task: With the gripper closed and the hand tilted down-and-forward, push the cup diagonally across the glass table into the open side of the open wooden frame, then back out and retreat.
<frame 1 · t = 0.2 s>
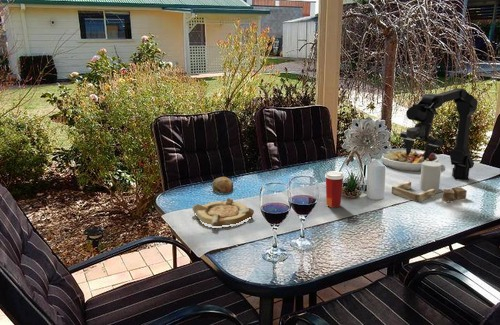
hand: (415, 157, 188), 16 cm above the table, tool pointing down, fingers open, 9 cm apart
bread roll: (223, 189, 200), on the table
ashtray: (223, 217, 169), on the table
walnut block A: (458, 198, 183), on the table
bowl: (408, 164, 233), on the table
walnut block B: (447, 199, 181), on the table
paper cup: (333, 205, 178), on the table
cup: (429, 189, 195), on the table
open wooden frame: (413, 194, 188), on the table
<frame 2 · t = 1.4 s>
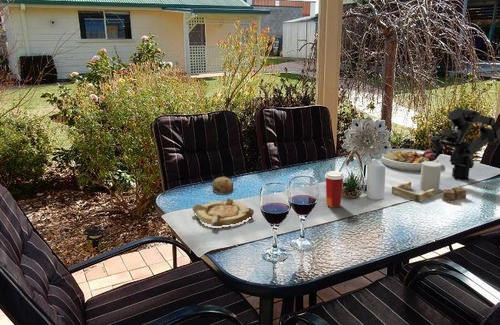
hand: (442, 159, 196), 12 cm above the table, tool tilted 45°, fingers open, 7 cm apart
nothing on the table moved.
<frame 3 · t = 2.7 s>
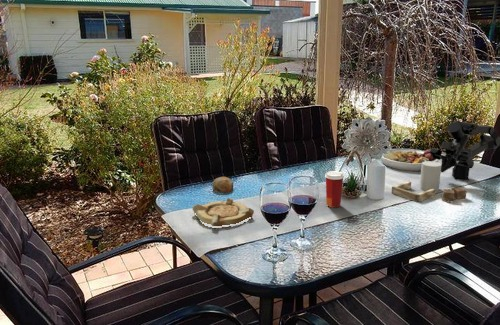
hand: (441, 171, 197), 7 cm above the table, tool tilted 45°, fingers closed
nothing on the table moved.
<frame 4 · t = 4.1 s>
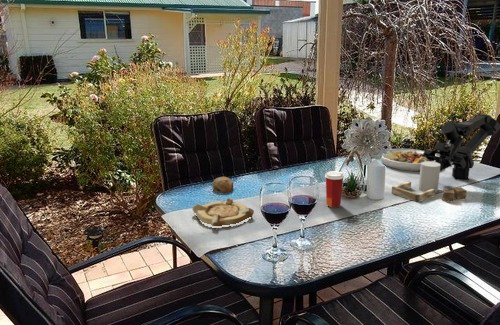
hand: (435, 173, 194), 7 cm above the table, tool tilted 45°, fingers closed, pressing on cup
cup: (428, 189, 194), on the table, touching gripper
everything else where it was.
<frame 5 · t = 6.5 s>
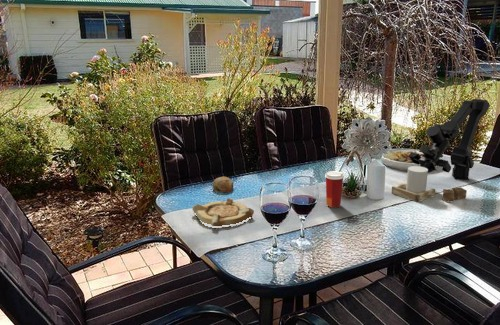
hand: (419, 176, 189), 7 cm above the table, tool tilted 45°, fingers closed
cup: (415, 195, 188), resting in open wooden frame, touching gripper
everything else where it was.
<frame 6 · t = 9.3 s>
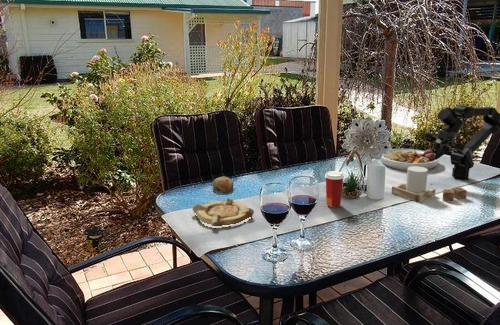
hand: (435, 159, 197), 12 cm above the table, tool tilted 35°, fingers closed
cup: (415, 195, 188), resting in open wooden frame
everything else where it was.
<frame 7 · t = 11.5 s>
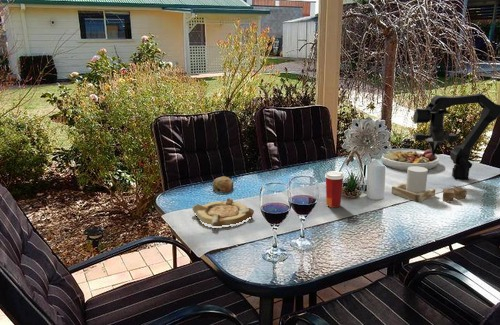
hand: (433, 154, 205), 12 cm above the table, tool pointing down, fingers closed
nothing on the table moved.
at the end: cup 1.1 cm from the open wooden frame (horizontally); cup tilted 0°; cup touching table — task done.
